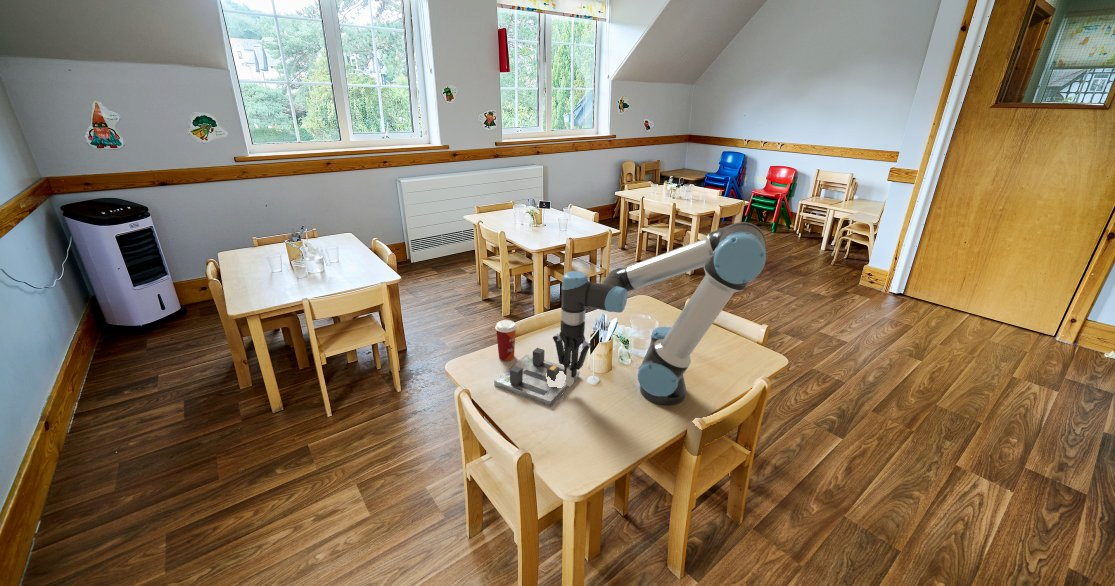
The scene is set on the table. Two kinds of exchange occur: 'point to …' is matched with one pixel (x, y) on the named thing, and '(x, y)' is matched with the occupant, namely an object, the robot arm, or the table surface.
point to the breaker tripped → (552, 372)
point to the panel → (533, 382)
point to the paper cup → (506, 339)
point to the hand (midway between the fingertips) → (569, 383)
